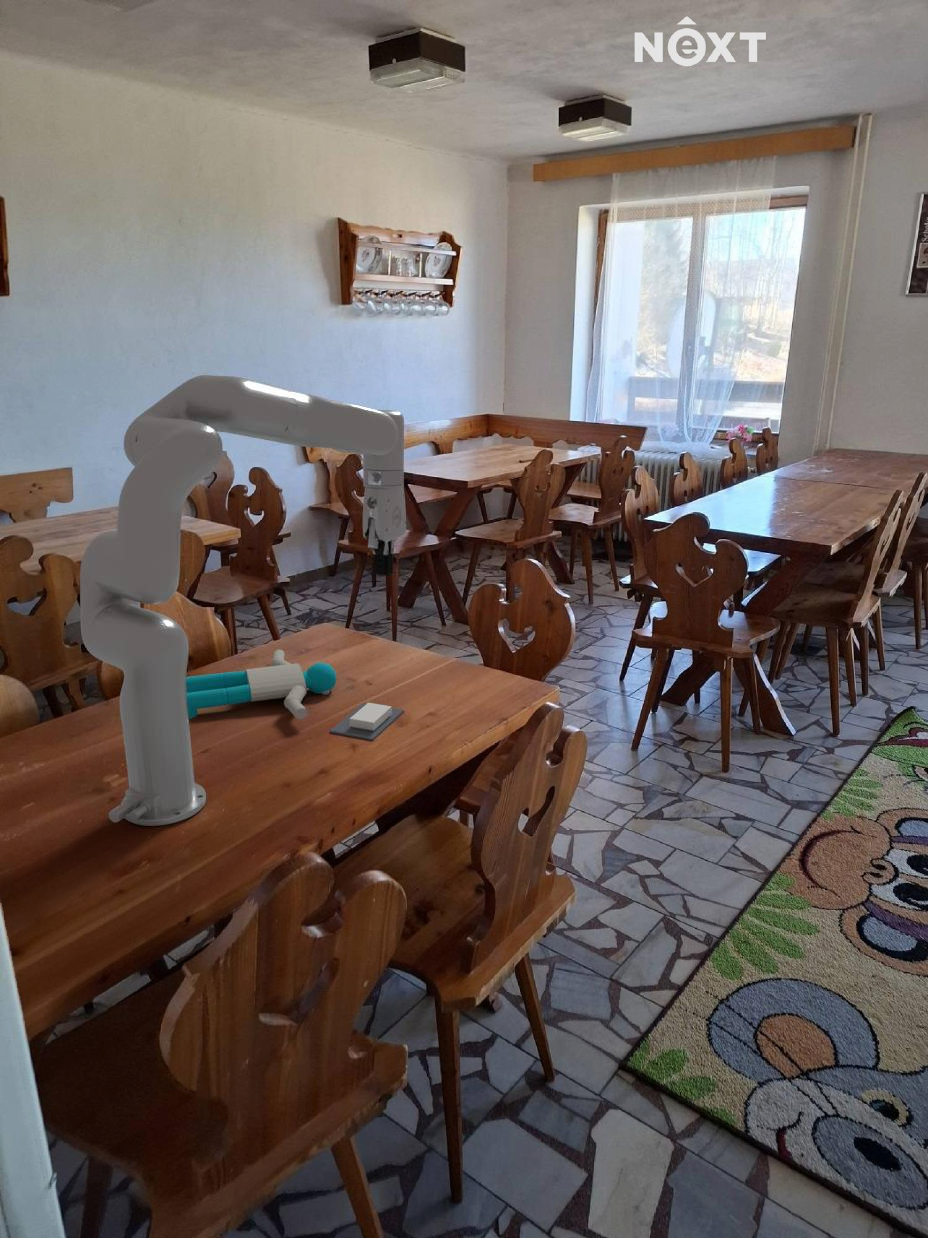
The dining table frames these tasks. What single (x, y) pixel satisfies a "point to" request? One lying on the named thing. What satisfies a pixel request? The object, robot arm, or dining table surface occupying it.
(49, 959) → the dining table surface
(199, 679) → the toy
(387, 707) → the slab
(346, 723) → the mat
